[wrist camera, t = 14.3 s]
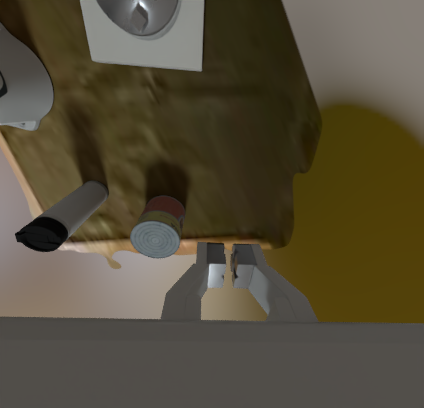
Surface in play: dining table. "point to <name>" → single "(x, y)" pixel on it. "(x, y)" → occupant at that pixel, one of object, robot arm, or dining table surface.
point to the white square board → (142, 49)
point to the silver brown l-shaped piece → (142, 16)
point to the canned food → (159, 227)
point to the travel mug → (63, 218)
